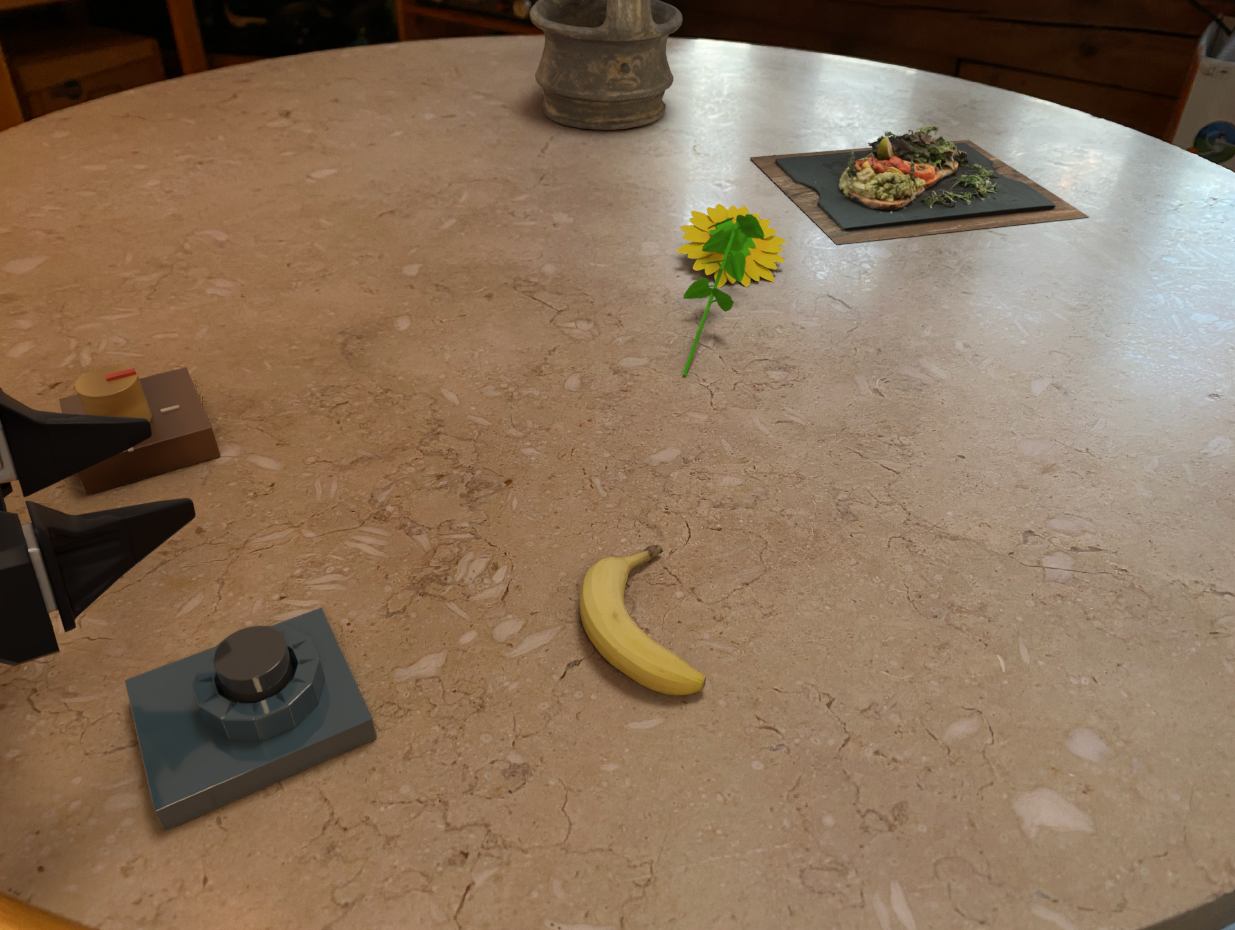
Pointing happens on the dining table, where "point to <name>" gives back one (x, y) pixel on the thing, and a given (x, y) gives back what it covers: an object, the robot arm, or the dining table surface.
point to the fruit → (630, 630)
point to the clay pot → (604, 61)
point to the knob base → (244, 724)
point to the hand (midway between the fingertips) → (170, 464)
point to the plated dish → (911, 189)
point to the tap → (113, 393)
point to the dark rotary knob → (253, 664)
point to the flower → (728, 254)
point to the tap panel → (156, 434)
